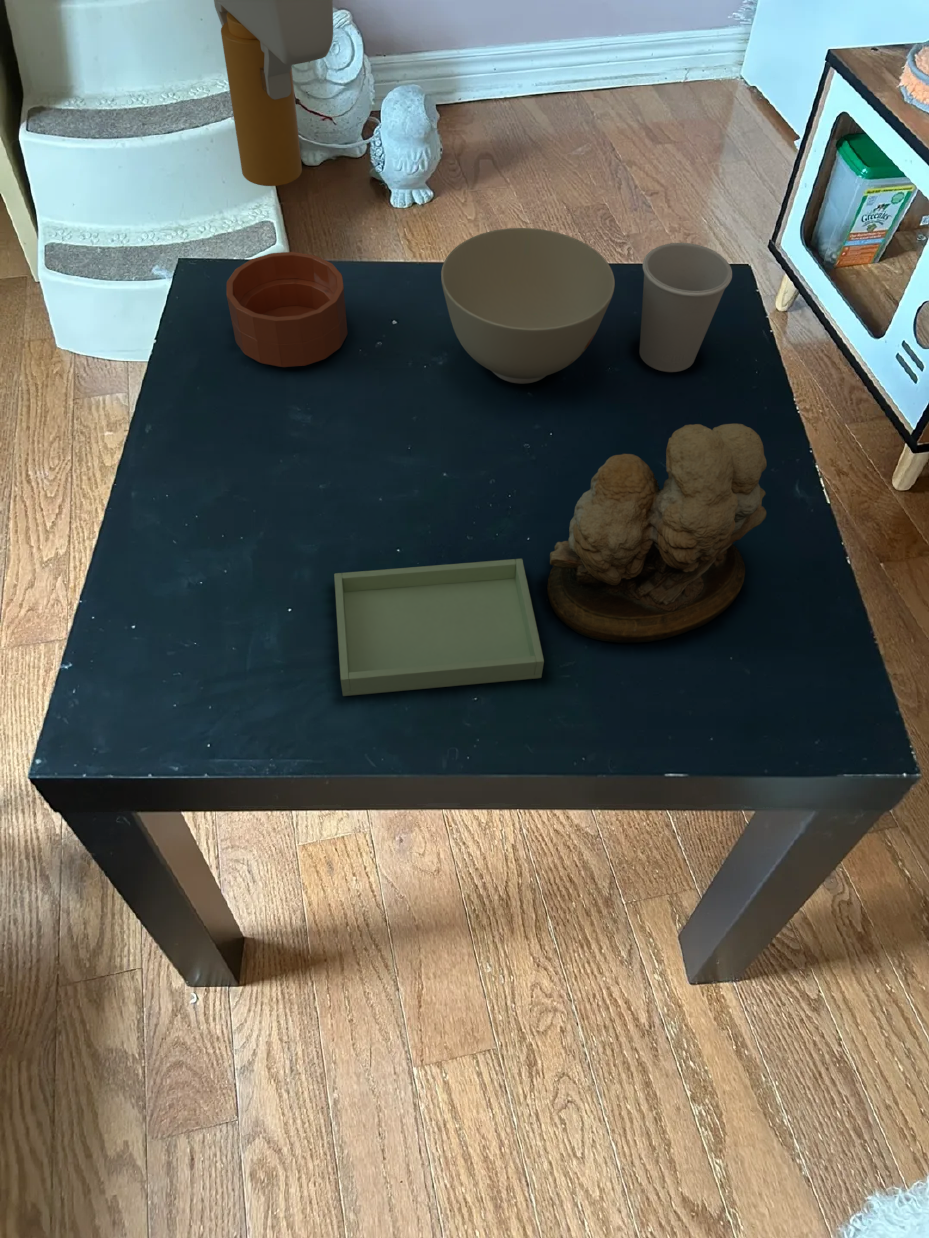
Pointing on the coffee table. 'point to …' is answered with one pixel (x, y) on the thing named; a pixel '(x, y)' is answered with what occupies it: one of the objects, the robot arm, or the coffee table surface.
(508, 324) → the bowl
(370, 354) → the coffee table surface
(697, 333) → the dixie cup
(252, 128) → the bottle
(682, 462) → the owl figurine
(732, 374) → the coffee table surface
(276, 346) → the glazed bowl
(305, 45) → the robot arm
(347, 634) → the tray
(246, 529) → the coffee table surface
